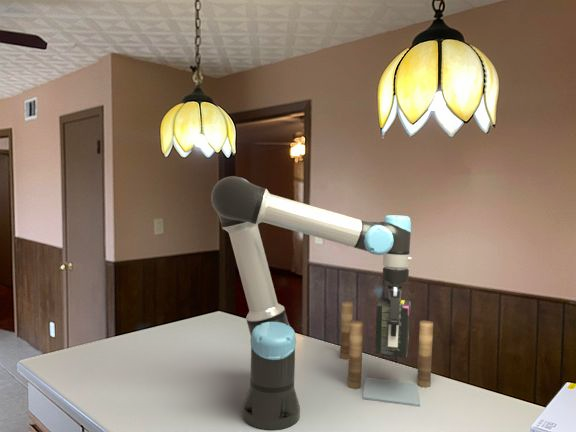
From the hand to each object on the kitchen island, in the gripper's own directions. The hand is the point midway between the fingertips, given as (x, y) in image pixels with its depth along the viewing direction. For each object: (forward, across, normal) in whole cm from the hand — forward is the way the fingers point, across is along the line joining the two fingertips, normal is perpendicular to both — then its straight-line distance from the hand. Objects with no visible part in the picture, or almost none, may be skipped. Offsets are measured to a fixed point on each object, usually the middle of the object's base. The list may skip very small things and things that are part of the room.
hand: (392, 339), depth 132 cm
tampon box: (+3, 0, 0) cm, 3 cm away
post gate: (+16, +24, +16) cm, 33 cm away
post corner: (+16, +1, +11) cm, 19 cm away
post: (+16, +8, -10) cm, 20 cm away
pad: (+16, 0, 0) cm, 16 cm away
